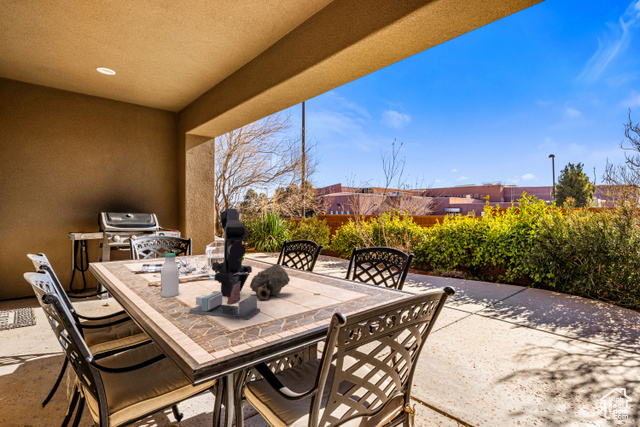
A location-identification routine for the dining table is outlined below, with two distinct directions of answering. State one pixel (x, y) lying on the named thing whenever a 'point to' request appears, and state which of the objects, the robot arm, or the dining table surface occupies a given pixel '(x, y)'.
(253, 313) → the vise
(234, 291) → the lighter
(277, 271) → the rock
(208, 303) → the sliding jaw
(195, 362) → the dining table surface
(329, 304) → the dining table surface
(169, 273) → the milk bottle
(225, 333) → the dining table surface
